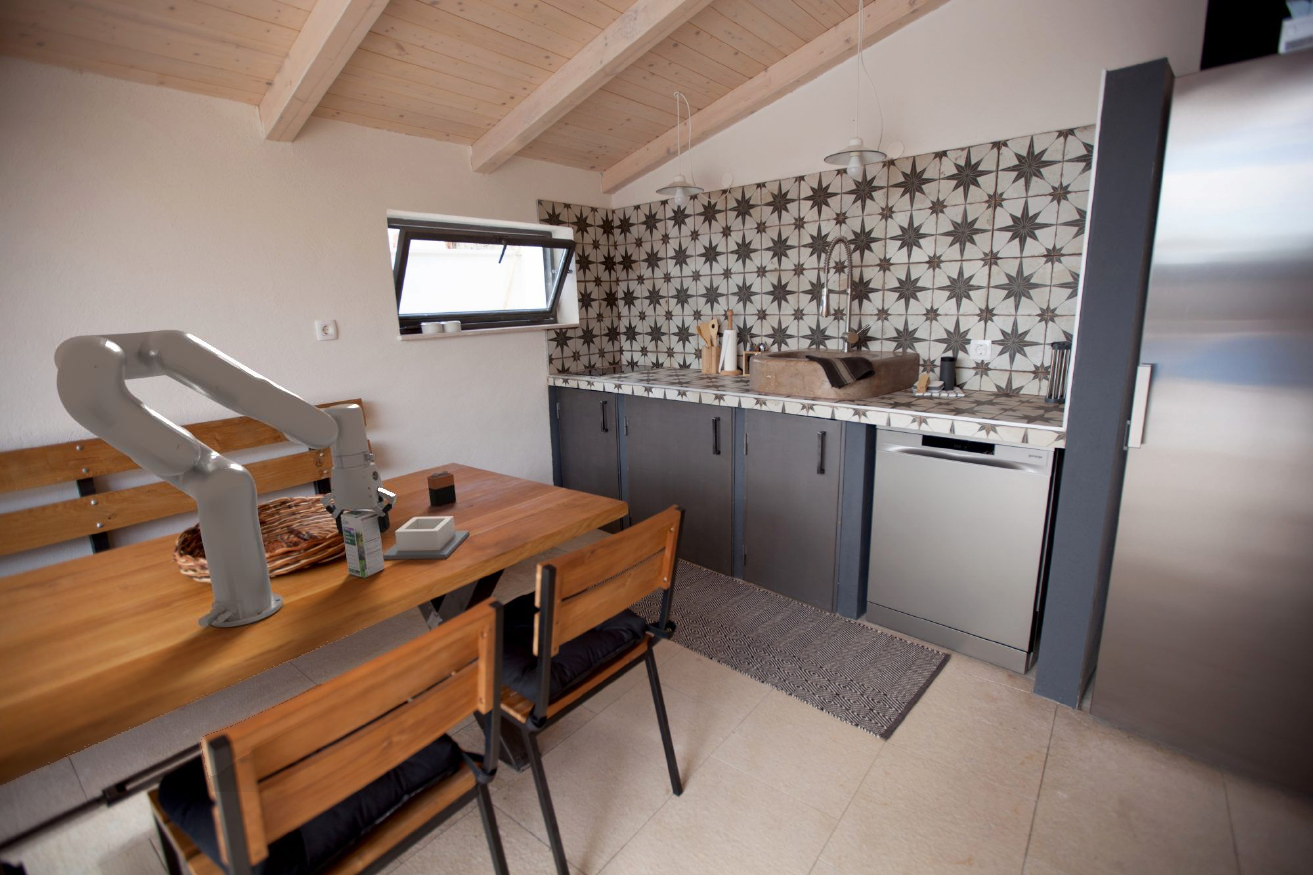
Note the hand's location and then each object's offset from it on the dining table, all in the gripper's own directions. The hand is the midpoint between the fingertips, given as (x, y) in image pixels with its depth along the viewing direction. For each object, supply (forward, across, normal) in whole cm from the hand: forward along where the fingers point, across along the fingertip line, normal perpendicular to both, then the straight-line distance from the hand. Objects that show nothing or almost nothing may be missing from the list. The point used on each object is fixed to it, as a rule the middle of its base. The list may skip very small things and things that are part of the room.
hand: (364, 531), depth 139 cm
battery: (+11, +3, -49) cm, 51 cm away
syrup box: (+10, +1, +1) cm, 10 cm away
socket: (+10, -7, -14) cm, 19 cm away
